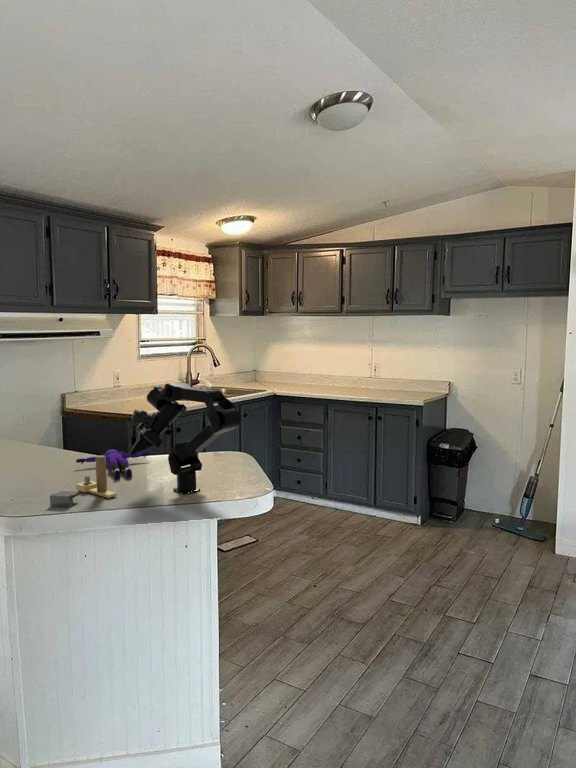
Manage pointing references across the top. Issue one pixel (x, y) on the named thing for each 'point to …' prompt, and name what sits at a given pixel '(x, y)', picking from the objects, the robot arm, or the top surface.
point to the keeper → (63, 498)
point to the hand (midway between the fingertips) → (131, 453)
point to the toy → (116, 461)
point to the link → (98, 480)
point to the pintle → (87, 481)
